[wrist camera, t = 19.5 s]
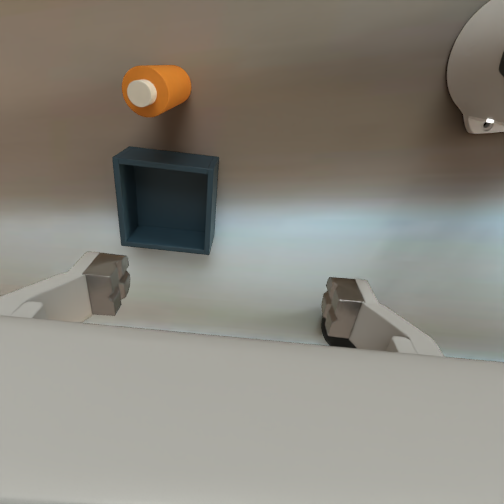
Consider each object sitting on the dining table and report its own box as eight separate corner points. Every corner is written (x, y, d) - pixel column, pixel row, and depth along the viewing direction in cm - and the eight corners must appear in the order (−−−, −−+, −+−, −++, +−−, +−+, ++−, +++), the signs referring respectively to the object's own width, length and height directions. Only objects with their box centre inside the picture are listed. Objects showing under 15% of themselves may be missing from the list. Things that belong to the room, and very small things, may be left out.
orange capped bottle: (191, 67, 44) (163, 69, 31) (190, 106, 46) (164, 122, 33) (155, 62, 43) (111, 62, 30) (156, 101, 46) (116, 117, 33)
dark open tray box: (219, 156, 49) (213, 169, 44) (214, 235, 56) (209, 255, 51) (129, 146, 49) (112, 157, 43) (135, 227, 56) (121, 245, 50)
